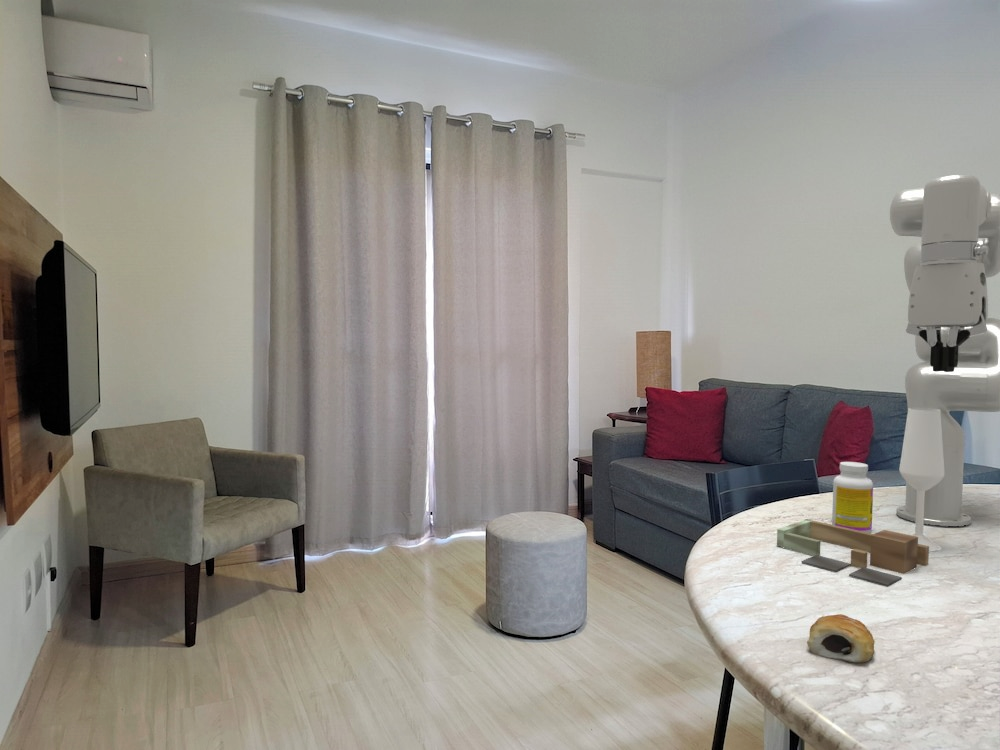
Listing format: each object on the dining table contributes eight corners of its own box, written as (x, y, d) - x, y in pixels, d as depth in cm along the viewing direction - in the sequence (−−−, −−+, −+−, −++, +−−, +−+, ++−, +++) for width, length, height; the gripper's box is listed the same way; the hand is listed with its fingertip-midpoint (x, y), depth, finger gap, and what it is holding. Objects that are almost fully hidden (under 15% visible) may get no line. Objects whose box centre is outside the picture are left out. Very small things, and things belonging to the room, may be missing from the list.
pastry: (818, 625, 85) (819, 596, 85) (878, 639, 82) (880, 609, 82) (805, 655, 78) (806, 623, 77) (871, 671, 74) (873, 638, 74)
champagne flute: (917, 537, 122) (922, 406, 121) (950, 549, 116) (957, 410, 114) (887, 540, 120) (892, 407, 119) (920, 552, 114) (925, 412, 112)
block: (883, 559, 111) (884, 529, 110) (916, 567, 107) (918, 536, 106) (869, 565, 108) (870, 535, 107) (903, 574, 104) (905, 542, 103)
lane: (806, 535, 123) (807, 519, 123) (928, 564, 108) (929, 546, 108) (761, 551, 114) (761, 534, 114) (887, 586, 98) (888, 566, 98)
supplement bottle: (876, 538, 122) (879, 468, 121) (837, 535, 123) (839, 466, 123) (864, 527, 129) (867, 461, 128) (827, 525, 130) (829, 460, 129)
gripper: (1013, 253, 103) (1008, 372, 104) (905, 261, 115) (901, 368, 116) (998, 249, 98) (992, 374, 100) (887, 258, 110) (883, 370, 111)
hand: (943, 371), depth 108 cm, fingers closed
